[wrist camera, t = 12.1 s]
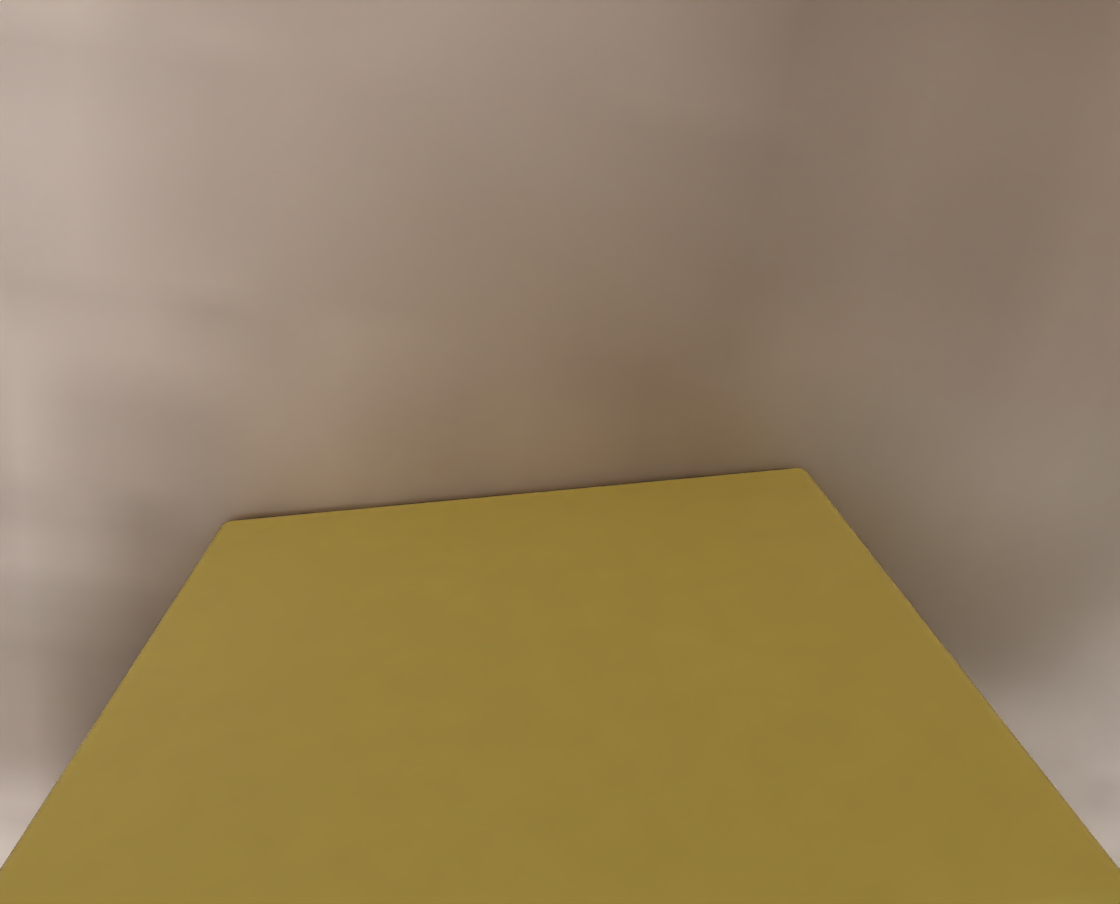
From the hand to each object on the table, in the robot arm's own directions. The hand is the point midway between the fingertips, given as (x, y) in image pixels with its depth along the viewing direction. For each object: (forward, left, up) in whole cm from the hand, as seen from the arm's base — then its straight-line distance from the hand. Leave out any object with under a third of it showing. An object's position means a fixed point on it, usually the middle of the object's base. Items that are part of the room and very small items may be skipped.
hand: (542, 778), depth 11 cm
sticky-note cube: (0, 0, -1) cm, 1 cm away
